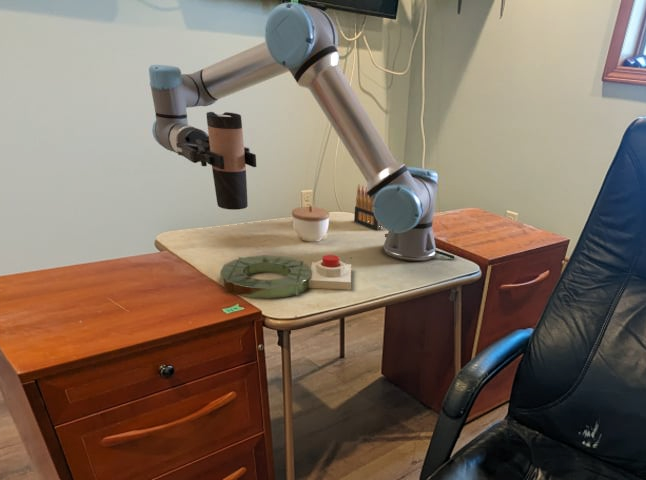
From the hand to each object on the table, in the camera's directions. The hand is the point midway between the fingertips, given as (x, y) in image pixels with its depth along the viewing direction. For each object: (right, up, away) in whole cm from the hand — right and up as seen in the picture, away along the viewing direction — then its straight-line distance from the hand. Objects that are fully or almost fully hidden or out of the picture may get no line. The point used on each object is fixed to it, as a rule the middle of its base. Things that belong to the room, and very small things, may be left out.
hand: (238, 161), depth 119 cm
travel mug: (-5, -7, +9) cm, 12 cm away
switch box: (+20, -25, +10) cm, 33 cm away
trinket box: (+10, -7, +35) cm, 37 cm away
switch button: (+20, -22, +8) cm, 31 cm away
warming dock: (+5, -26, +6) cm, 27 cm away
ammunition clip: (+25, +3, +51) cm, 57 cm away
